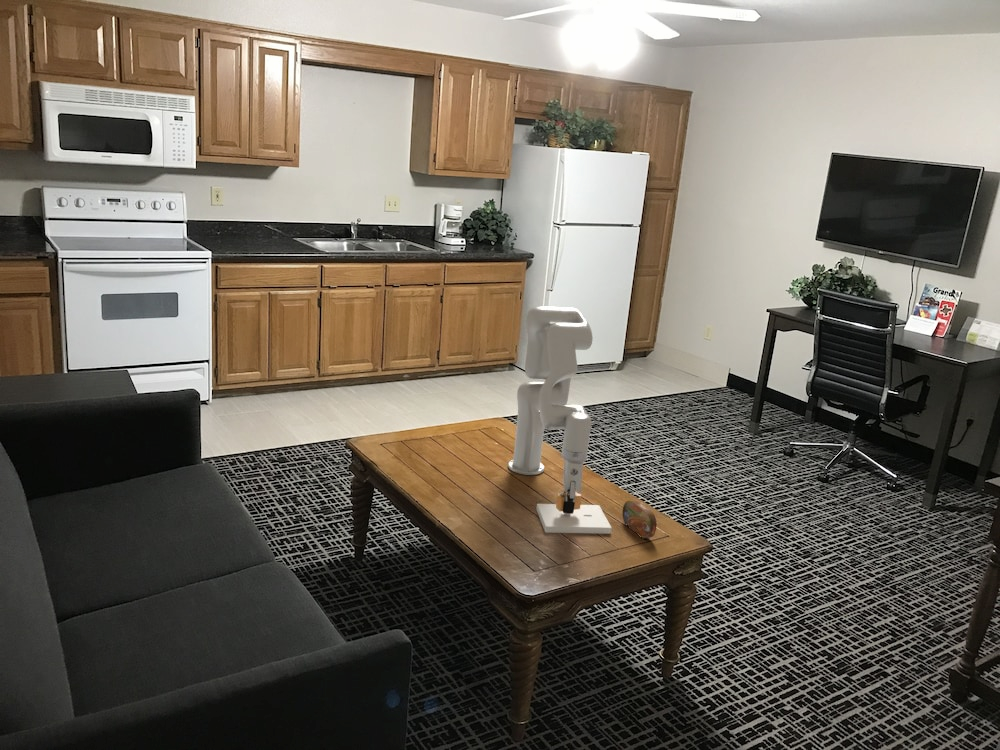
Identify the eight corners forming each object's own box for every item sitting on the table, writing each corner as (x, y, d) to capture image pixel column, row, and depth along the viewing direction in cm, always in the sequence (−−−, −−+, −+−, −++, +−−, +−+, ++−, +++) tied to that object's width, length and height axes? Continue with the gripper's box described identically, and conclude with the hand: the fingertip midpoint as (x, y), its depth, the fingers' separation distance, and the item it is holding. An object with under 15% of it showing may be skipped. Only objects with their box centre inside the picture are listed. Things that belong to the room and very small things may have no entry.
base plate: (536, 509, 251) (537, 497, 250) (598, 510, 254) (599, 499, 253) (545, 532, 237) (546, 520, 236) (610, 533, 240) (612, 521, 239)
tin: (620, 520, 249) (623, 495, 247) (628, 519, 250) (632, 494, 248) (646, 543, 236) (651, 518, 233) (655, 542, 237) (660, 516, 235)
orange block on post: (576, 505, 246) (577, 491, 245) (579, 509, 244) (581, 495, 243) (555, 507, 243) (557, 493, 242) (559, 511, 241) (561, 497, 240)
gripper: (589, 465, 231) (582, 523, 236) (584, 444, 247) (577, 498, 252) (563, 463, 231) (556, 520, 236) (560, 442, 247) (553, 496, 252)
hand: (567, 508), depth 244 cm, fingers closed on orange block on post, 4 cm apart
